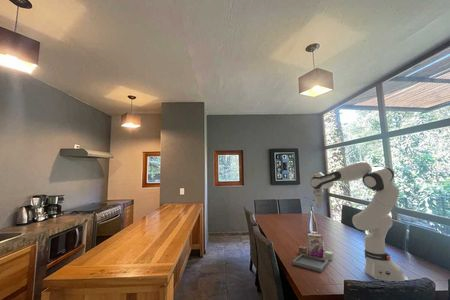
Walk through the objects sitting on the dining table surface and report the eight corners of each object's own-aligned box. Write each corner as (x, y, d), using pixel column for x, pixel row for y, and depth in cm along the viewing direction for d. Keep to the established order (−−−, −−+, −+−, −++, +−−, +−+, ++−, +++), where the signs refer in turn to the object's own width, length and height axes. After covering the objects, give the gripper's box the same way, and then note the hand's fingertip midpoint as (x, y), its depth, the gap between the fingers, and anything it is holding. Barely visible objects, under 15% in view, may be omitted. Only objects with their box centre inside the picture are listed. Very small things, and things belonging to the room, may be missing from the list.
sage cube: (333, 258, 160) (332, 252, 160) (331, 261, 156) (331, 254, 157) (326, 257, 163) (326, 250, 164) (324, 259, 159) (324, 252, 160)
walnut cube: (307, 253, 172) (306, 247, 173) (304, 255, 168) (304, 248, 169) (301, 251, 175) (300, 245, 176) (298, 253, 172) (298, 247, 172)
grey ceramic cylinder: (325, 250, 178) (324, 241, 178) (323, 252, 174) (323, 243, 175) (319, 249, 181) (318, 240, 182) (317, 250, 177) (316, 242, 178)
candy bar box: (308, 256, 166) (307, 235, 168) (308, 253, 170) (307, 233, 172) (323, 257, 162) (322, 236, 164) (323, 255, 167) (321, 234, 169)
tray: (328, 263, 152) (328, 260, 152) (321, 272, 138) (321, 268, 138) (301, 256, 165) (301, 253, 165) (292, 264, 151) (292, 261, 151)
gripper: (312, 190, 182) (313, 206, 181) (314, 192, 163) (316, 210, 161) (320, 190, 180) (321, 206, 179) (323, 192, 161) (324, 210, 159)
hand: (318, 208), depth 170 cm, fingers open, 8 cm apart
